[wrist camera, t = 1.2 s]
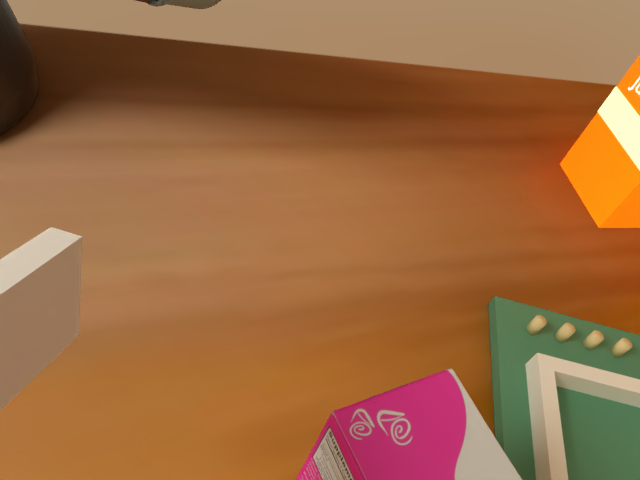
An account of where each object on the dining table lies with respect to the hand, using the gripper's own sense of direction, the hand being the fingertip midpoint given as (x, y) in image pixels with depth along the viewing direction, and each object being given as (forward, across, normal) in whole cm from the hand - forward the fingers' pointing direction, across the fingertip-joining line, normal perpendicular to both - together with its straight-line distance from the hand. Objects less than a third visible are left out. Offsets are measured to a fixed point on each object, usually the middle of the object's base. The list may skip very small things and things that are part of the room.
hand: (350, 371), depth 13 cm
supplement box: (+10, +2, -18) cm, 21 cm away
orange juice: (+44, +18, -7) cm, 48 cm away
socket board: (+21, +17, -16) cm, 31 cm away
